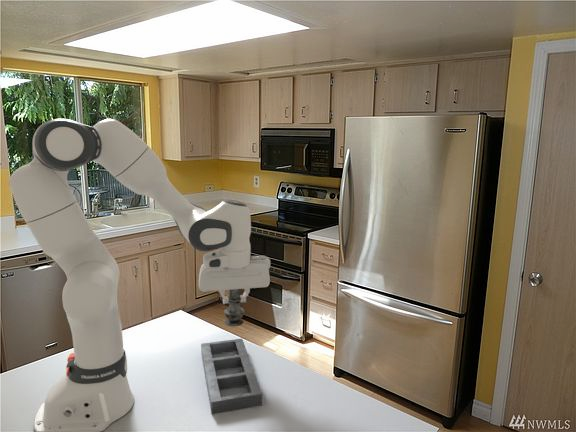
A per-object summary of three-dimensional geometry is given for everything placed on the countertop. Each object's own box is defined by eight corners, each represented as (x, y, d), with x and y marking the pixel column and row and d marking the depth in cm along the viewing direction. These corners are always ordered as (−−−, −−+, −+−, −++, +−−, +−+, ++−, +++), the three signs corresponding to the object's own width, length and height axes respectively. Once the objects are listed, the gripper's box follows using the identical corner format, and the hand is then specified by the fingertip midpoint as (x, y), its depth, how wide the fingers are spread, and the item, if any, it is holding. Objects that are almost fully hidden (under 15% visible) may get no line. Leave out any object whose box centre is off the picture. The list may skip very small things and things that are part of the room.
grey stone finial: (242, 327, 120) (243, 288, 117) (222, 326, 120) (222, 287, 117) (245, 318, 125) (246, 280, 123) (226, 317, 126) (226, 279, 123)
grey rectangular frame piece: (211, 414, 105) (211, 402, 104) (201, 353, 132) (201, 343, 131) (262, 405, 109) (262, 393, 108) (242, 348, 135) (242, 338, 135)
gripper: (268, 251, 124) (267, 295, 127) (197, 255, 118) (198, 300, 121) (273, 258, 118) (271, 304, 121) (199, 262, 113) (199, 310, 116)
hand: (234, 302), depth 121 cm, fingers closed on grey stone finial, 4 cm apart
